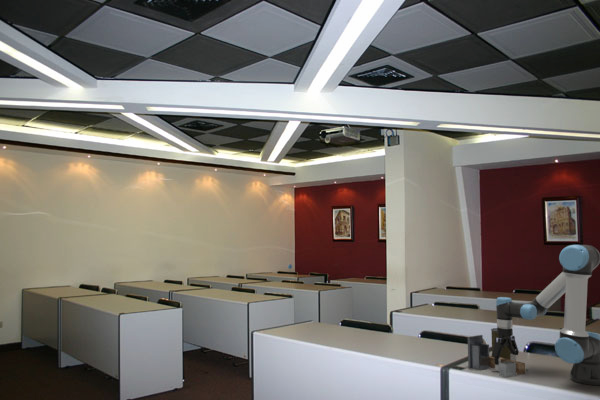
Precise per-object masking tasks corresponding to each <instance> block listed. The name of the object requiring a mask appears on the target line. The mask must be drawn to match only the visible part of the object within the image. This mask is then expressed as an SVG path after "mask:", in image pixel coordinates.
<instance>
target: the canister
mask: <svg viewBox="0 0 600 400" xmlns="http://www.w3.org/2000/svg"><path fill="white" fill-rule="evenodd" d="M496 326H497V325H496ZM497 327H498V326H497ZM497 327H496V328H495V327H494V328H490V331H491V353H492V352H493V348H494V344H495V338H499V335H498V334H497ZM510 354H512V353H511V352H510V350H509V348H508V347H507V346H505V347H504V348H503V350H502V353H501V355H500V357H501V358H505V359H510V360H511V358H510ZM497 356H498V355H497Z"/></svg>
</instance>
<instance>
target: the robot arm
mask: <svg viewBox="0 0 600 400" xmlns="http://www.w3.org/2000/svg"><path fill="white" fill-rule="evenodd" d="M558 260H559V264H560V265H561V266H562V272H561V273H560V274H558V275H557V276H556V278H555V279H553V280H552V281H551V283H549V284H548V285H547V286H545V288H544V289H543V290H542V291H541V292H540V293H539V294H538V295H536V296H535V298H534V299H532V301H529V302H513V300H512V298H511V297H506V296H500V297H499V296H498V297H497V298H496V300H495V301H496V303H495V307H496V326H498V327H496V328H497V334H498V335H499V338H495V344H494V348H493V352H492V351H491V356H492V357H494V358H495V368H494V371H495V372H499V363H501V360H500V358H499V357H500V355H501V353H502V350H503V348H504V347H505V346H507V347H508V348H509V350H510V352H511V353H512V354H510V358H511V360H514V361H517V356H518V355H519V353H520V351H519V347H518V345H517V342H516V337H515V335H514V334H513V327H514V326H513V318H516V319H524V320H526V321H527V320H535V319H536V318H537V317H542V316H544V315H546V313H547V312H548V309H549V308H550V307H551V306H553V304H555V303H556V301H558V300H559V299H560V298H561V297H562V296H563V295H565V296H564V297H565V298H564V317H563V328H561V329H560V330H559V338H558V339H557V341H556V342H555V344H554V349H555V353H556V356H558V357H559V359H561V360H562V361H564V363H568V364H572V366H571V370H570V373H569V375H570V376H569V379H570V380H571V381H573V382H576V383H579V384H584V385H590V386H600V334H599V333H596V332H593V331H592V332H591V331H586V321H587V320H586V319H587V305H588V303H587V300H588V299H587V298H588V284H589V283H588V282H589V278H591V277H592V275H593V272H594V270H595V269H596V268H597V267H598V266H599V264H600V252H599V250H598V249H597V248H596V247H594V246H593V245H590V244H570V245H567V246H566V247H564V248H563V249H562V250H561V251H560V253H559V257H558ZM497 355H498V356H497Z"/></svg>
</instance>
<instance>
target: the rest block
mask: <svg viewBox="0 0 600 400" xmlns="http://www.w3.org/2000/svg"><path fill="white" fill-rule="evenodd" d="M513 375H514V376H517V374H516V363H515V362H511V361H505V362H501V363H499V371H498V376H500V377H504V378H509V377H513Z"/></svg>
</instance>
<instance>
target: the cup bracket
mask: <svg viewBox="0 0 600 400" xmlns="http://www.w3.org/2000/svg"><path fill="white" fill-rule="evenodd" d="M483 336H484V335H483V334H478V335H472V336H467V359H468V363H467V364H468V365H467V366H468V369H469V368H470V370H471V368H472V370H476V371H483V370H487V369H490V368H491V367H490V344H488V343H484V341H483V340H484V337H483Z"/></svg>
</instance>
